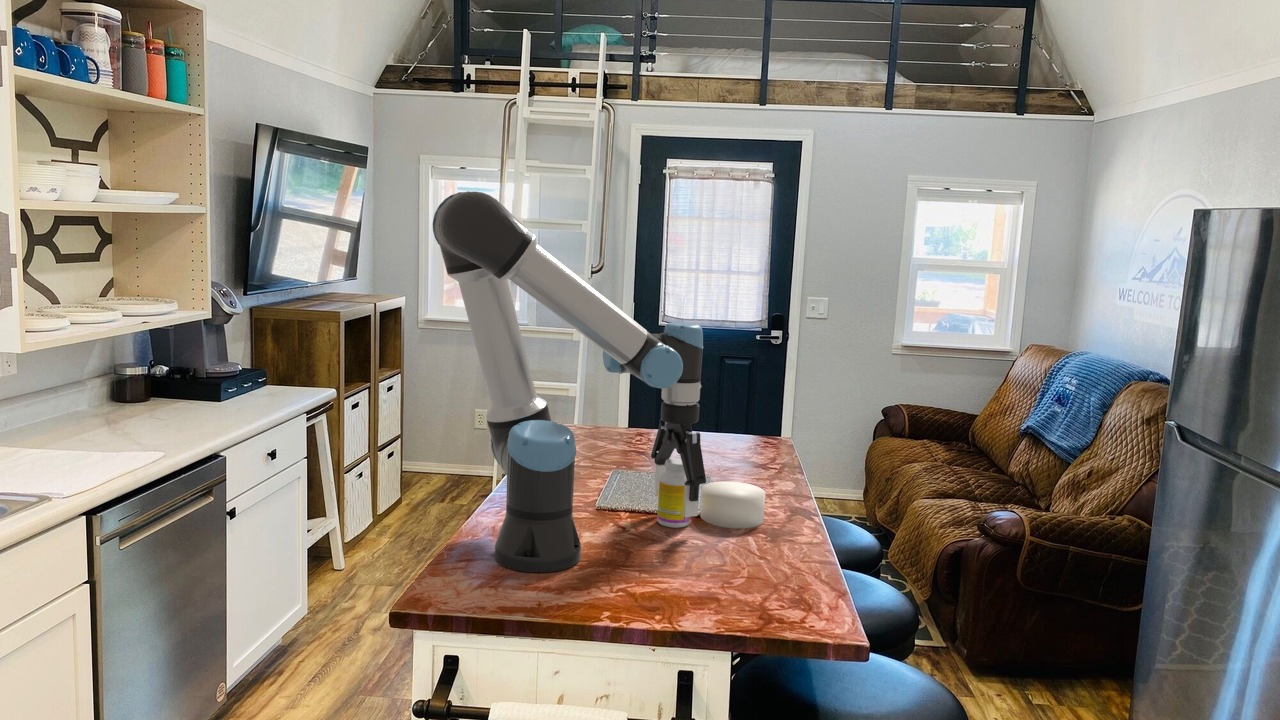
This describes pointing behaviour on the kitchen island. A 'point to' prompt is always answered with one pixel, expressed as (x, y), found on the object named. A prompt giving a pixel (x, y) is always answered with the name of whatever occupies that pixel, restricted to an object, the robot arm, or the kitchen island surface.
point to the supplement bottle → (672, 495)
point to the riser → (732, 504)
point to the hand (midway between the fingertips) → (675, 505)
